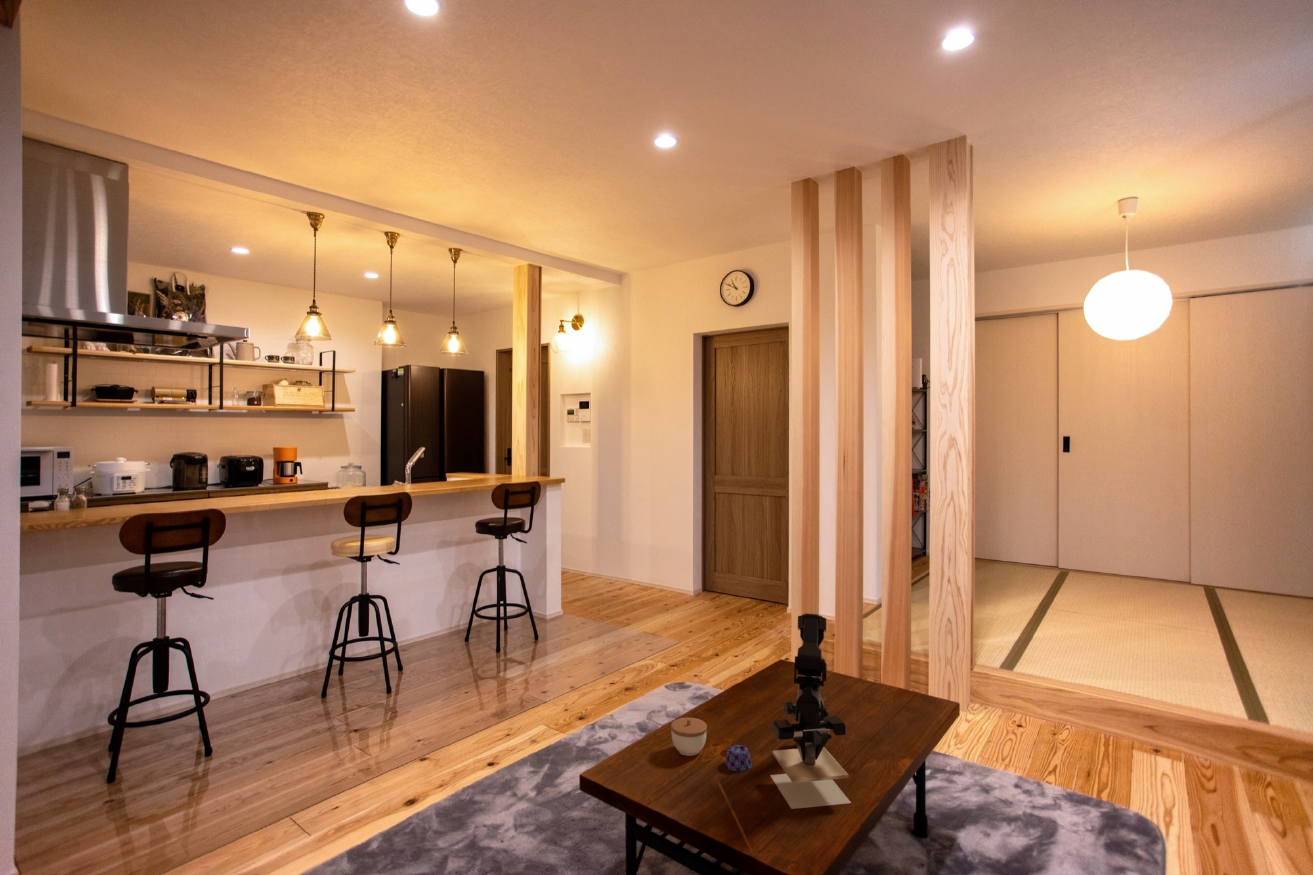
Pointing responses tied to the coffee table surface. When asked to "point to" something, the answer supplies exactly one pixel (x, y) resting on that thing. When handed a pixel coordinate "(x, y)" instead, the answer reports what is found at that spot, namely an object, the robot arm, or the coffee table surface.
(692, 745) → the lidded jar
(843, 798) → the mat
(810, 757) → the lid
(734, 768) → the purple round dome
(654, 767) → the coffee table surface
